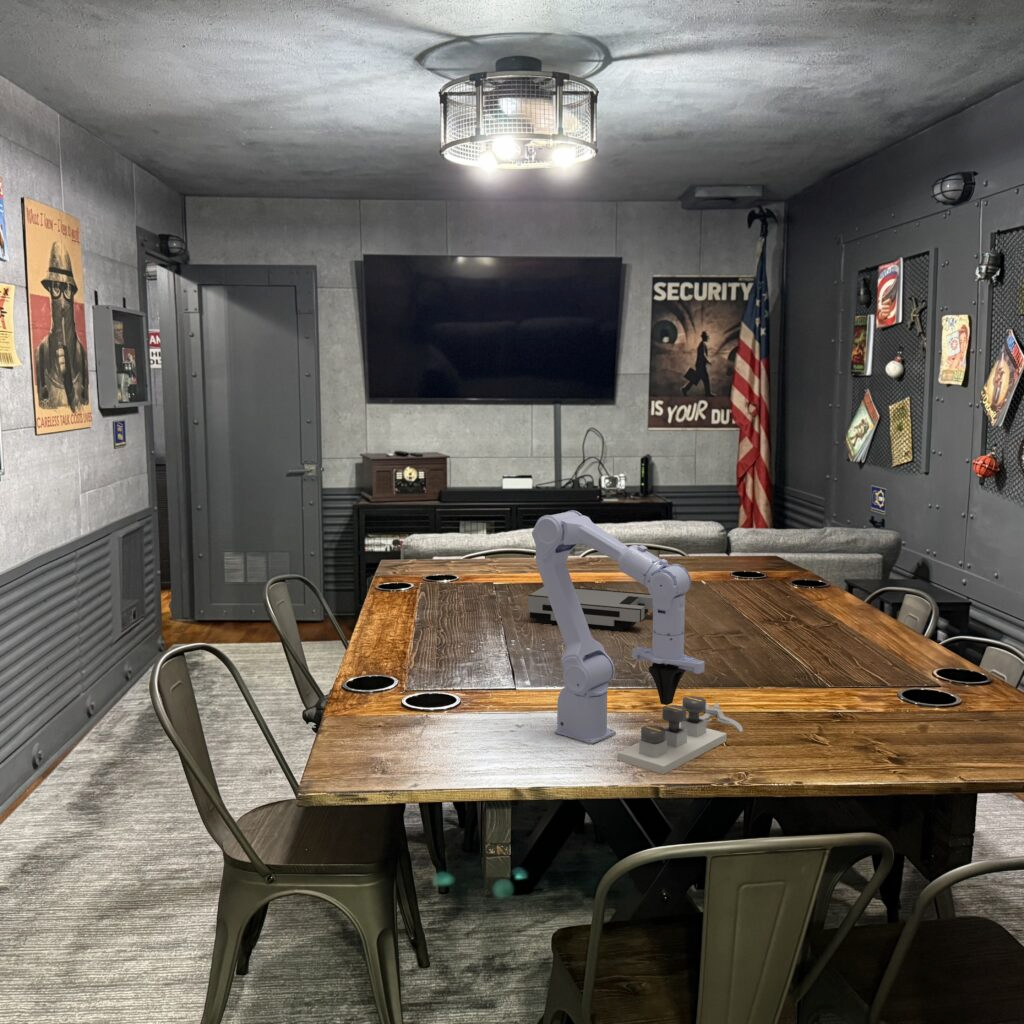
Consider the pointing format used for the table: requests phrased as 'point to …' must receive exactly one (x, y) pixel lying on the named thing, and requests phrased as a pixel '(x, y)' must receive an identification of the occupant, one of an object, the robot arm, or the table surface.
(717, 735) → the knob mount
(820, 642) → the table surface
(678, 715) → the knob middle
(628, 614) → the game console
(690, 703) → the knob far
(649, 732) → the knob near
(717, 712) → the pliers
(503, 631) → the table surface
